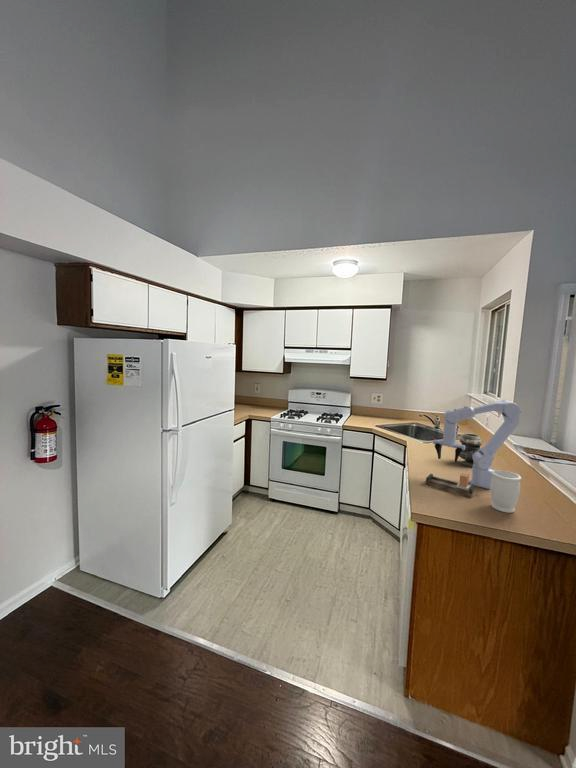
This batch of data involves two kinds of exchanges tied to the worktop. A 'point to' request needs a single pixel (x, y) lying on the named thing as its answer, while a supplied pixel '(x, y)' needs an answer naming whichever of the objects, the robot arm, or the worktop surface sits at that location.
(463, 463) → the apothecary jar
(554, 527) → the worktop surface
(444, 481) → the rail board
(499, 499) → the jar
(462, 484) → the block
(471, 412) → the robot arm
